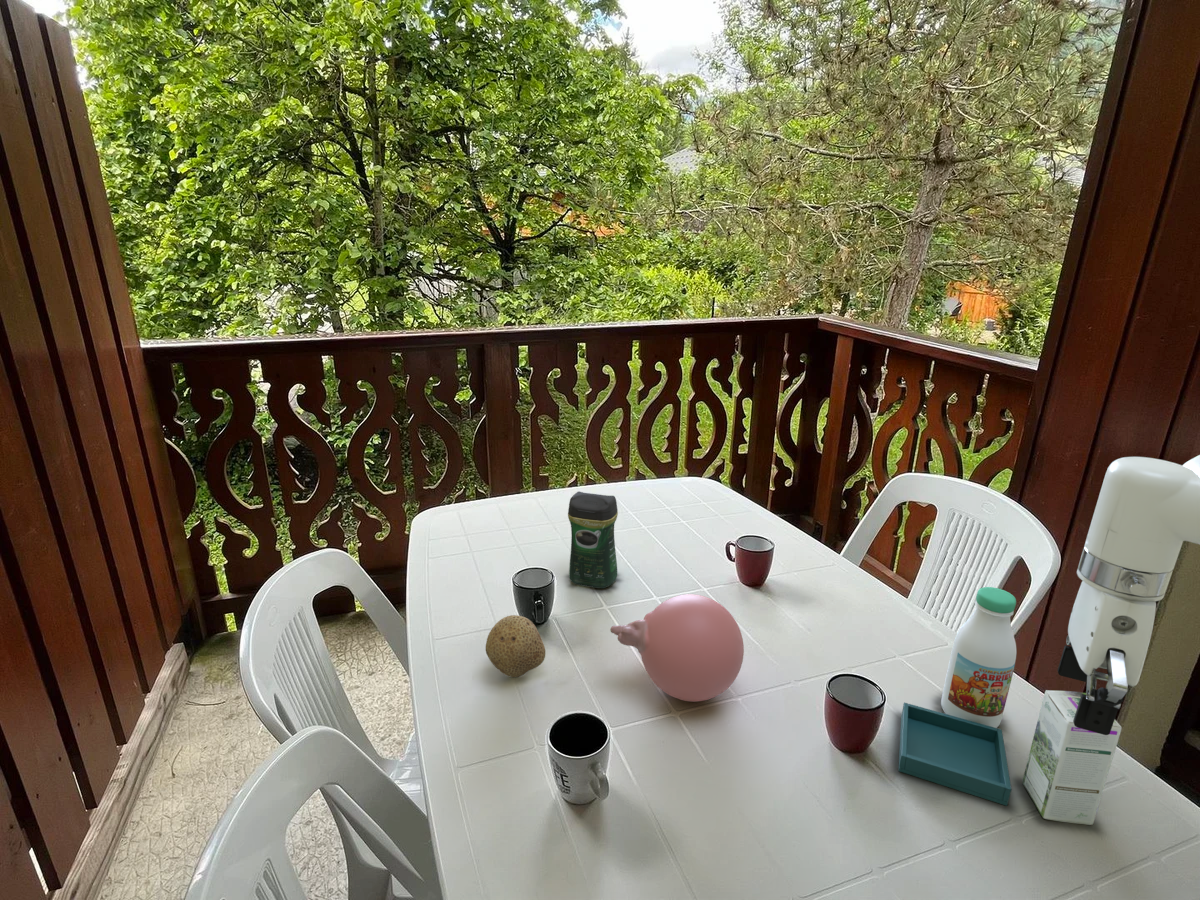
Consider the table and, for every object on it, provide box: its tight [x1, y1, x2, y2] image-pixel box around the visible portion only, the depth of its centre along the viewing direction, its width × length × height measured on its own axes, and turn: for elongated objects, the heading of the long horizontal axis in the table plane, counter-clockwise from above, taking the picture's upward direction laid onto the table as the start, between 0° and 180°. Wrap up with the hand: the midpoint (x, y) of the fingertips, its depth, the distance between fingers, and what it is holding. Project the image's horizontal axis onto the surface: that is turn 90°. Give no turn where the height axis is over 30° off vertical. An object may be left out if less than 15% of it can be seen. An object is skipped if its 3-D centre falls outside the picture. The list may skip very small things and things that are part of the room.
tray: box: [898, 702, 1012, 807], centre depth 85 cm, size 12×11×3 cm
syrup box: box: [1021, 689, 1123, 826], centre depth 76 cm, size 6×6×14 cm
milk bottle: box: [940, 586, 1017, 728], centre depth 90 cm, size 8×8×20 cm
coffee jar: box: [567, 491, 619, 589], centre depth 127 cm, size 10×8×19 cm
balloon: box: [610, 593, 745, 703], centre depth 96 cm, size 15×20×15 cm
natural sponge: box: [485, 614, 546, 678], centre depth 100 cm, size 9×9×10 cm
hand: (1081, 702), depth 74 cm, fingers open, 9 cm apart
